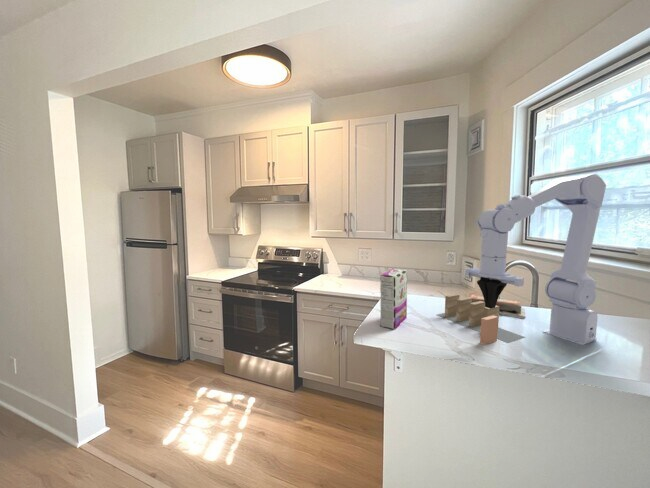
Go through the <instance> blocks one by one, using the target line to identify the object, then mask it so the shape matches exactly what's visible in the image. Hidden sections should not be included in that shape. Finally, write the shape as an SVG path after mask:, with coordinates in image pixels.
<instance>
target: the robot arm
mask: <svg viewBox="0 0 650 488" xmlns="http://www.w3.org/2000/svg"><path fill="white" fill-rule="evenodd" d="M606 189H607V184H606V182H605V181H604V180H603V178H602V176H600V175H599V174H597V173H590V174H587V175H580V176H570V177H558V178H555V179H554V180H551V181H549V183H548V184H546V185H545V186H543V187H541V188H539V189H538V190H536V191H535V192H533V193H531V194H530V195H528V196H526V195H522V194H521V195H520V194H517V195H514V196H511V199H510V200H509V201H506V202H504V203H500V204H497V205H496V207H495V208H494V209H486V210H485V211H484V210H483V211H482V212H481V214H480V215H479V217H478V219H477V220H476V224H477V227H478V228H479V231H480V236H481V244H480V245H481V246H480V263H479V264H480V266H479V267H480V268H472V267H466V268H465V271H464V275H465V276H467V277H469V276H470V277H475V278H479V279H478V280H477V281H476V283H477V285H478V287H479V288H480V292H481V294H482V296H483V297H484V301H485V306H486V307H487V308H495V306H496V303H497V300H498V299H500V298H499V297H500V296H501V294H502V293H503V291H504V289H505V288H506V286H507V285H512V286H513V285H514V286H515V287H518V288H519V287H524V284H525V283H524V282H525V277H521V276H517V275H513V274H510V273H506V268H507V267H506V266H507V251H508V250H507V249H508V238H509V237H508V235H509V232H511V231H512V230H513V229H514V226H515V224H517V223H519V222H521V221H523V220H524V219H526V218H529V217H530V216H532V215H533V214H535V211H536V208H537V207H540V206H542V205H545V204H546V203H549V202H551V201H553V200H554V201H556V202H557V203H559V204H560V205H562V206H563V207H564V208H566V209H569V211H570V212H571V213H572V215H571V220H570V224H569V228H568V234H567V238H566V243H565V246H564V251H563V257H562V260H561V266H560V268H559V269H557V270H554V271H553V272H551V273H550V278H549V279H548V281H547V282H546V284H545V287H544V291H545V295H546V296H547V297H548V299H549V302H551V309H550V310H551V311H550V321H549V322H550V323H549V328H547V329H544V330H542V332H543V334H548V335H551V336H553V337H555V338H560V339H563V340H566V341H569V342H572V343H575V344H578V345H580V346H581V345H582V346H585V345H586V344H589V343H591V342H594V341H596V340H597V331H598V330H597V327H598V313H597V312H596V311H595V310H592V309H589V307H591V306H592V305H593V304H594V302H595V301H596V299H597V294H596V283H597V282H596V280H595V279H593V278H592V277H591V275H589V274H588V272H587V269H588V265H589V260H590V255H591V251H592V248H593V247H592V246H593V242H594V238H595V233H596V229H597V224H598V220H599V216H600V211H601V208H602V206H603V202H604V198H605V193H606ZM569 280H570V281H569Z"/></svg>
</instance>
